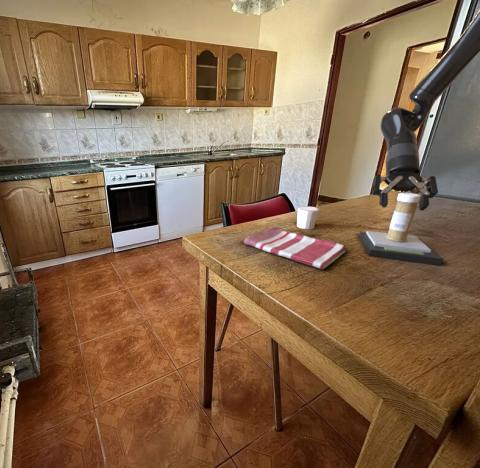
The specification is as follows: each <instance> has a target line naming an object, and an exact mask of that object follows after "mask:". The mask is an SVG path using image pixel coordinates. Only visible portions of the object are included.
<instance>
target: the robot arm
mask: <svg viewBox="0 0 480 468" xmlns="http://www.w3.org/2000/svg"><path fill="white" fill-rule="evenodd" d="M479 53H480V9H479V11H478V12H477V13H476V15H475V16H474V17H473V19H472V21H471V22H470V23H469V24H468V26H467V27H466V28H465V30H464V31H463V32H462V33H461V35H460V36H459V37H458V38H457V40H455V42H454V43H453V44H452V45H451V47H449V49H447V51H446V52H445V53H444V54H443V55H442V56H441V57H440V58H439V60H437V61H436V62H435V64H433V66H432V67H431V68H430V69H429V70H428V72H426V74H425V75H424V76H423V78H421V79H420V81H419V82H418V83H417V84H416V85H415V87H414V88H413V89H412V90H411V91H410V93H409V95H408V99H409V100H410V101H411V102H412V103H413V104H414V105H413V108H412V110H409V109H407V108H404V107H392V108H391V109H389V110H387V111H386V112H385V113H384V115H383V116H382V117H381V119H380V130H381V133H382V136H383V138H384V140H385V142H386V156H385V176H382V175H381V174H379V173H378V174H376V175H375V176H374V178H373V179H372V188H371V195H372V196H377V197H379V206H381V208H387V206H388V205H389V198H388V197H389V193H390V192H392V191H394V192H403V193H413V194H418V195H420V196H421V197H420V201H419V202H418V204H419V205H418V206H419V207H418V208H419V211H425V210H426V209H427V208H428V207H429V206H430V199H433V198H434V197H435V196H436V195H437V194H438V193H439V189H438V184H437V179H436V178H437V177H436V176H434V175H431V176H429V177H422V176H421V166H420V165H421V164H420V153H419V149H418V138H417V135H416V133H415V132H416V131H418V130H419V129H420V127H421V126H422V125H423V124H424V122H425V120H426V118H427V116H428V114H429V113H430V111H431V109H432V108H433V106H434V104H435V103H436V101H437V100H438V99H439V98H440V97H441V96H442V95H443V94H444V93H445V92H446V91H447V90H448V88H450V86H451V85H452V84H453V83H454V82H455V81H456V80H457V79H458V77H459V76H460V75H461V74H462V73H463V71H464V70H465V69H466V68H467V67H468V65H470V63H471V62H472V61H473V60H474V59H475V58H476V56H477V55H478V54H479ZM383 182H384V183H385V184H386V185H387V186H386V187H384V188H383V189H381V184H382V183H383Z"/></svg>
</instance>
